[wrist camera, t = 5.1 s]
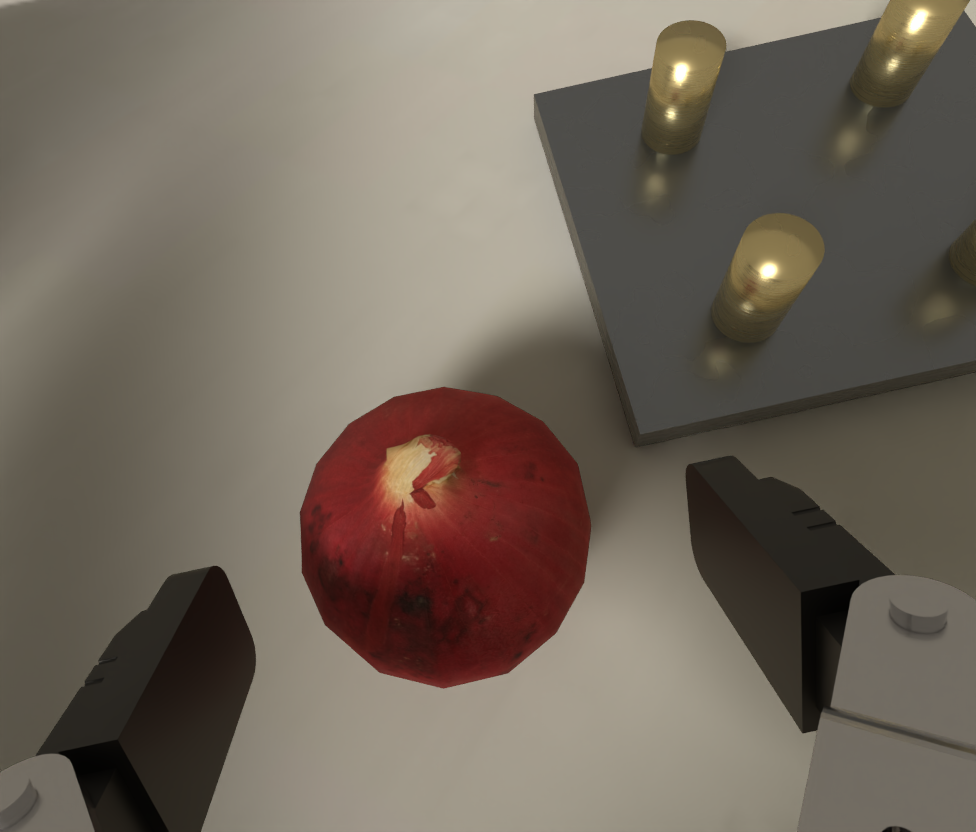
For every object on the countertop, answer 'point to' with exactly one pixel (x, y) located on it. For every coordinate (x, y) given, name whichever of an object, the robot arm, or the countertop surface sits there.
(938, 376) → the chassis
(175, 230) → the countertop surface
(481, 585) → the onion
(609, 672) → the countertop surface
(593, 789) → the countertop surface
